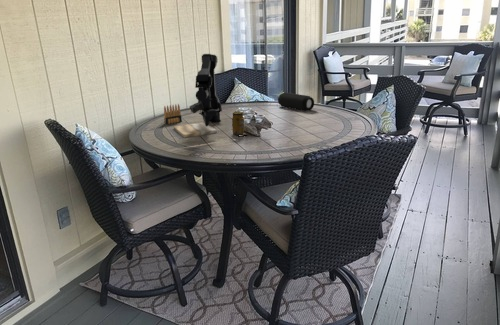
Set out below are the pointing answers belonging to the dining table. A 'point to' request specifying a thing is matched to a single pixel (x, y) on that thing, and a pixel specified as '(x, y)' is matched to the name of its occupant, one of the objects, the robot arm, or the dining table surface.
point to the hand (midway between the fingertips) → (206, 125)
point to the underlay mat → (185, 137)
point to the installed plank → (186, 131)
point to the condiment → (238, 123)
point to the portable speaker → (296, 101)
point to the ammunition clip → (172, 115)
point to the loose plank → (203, 128)
